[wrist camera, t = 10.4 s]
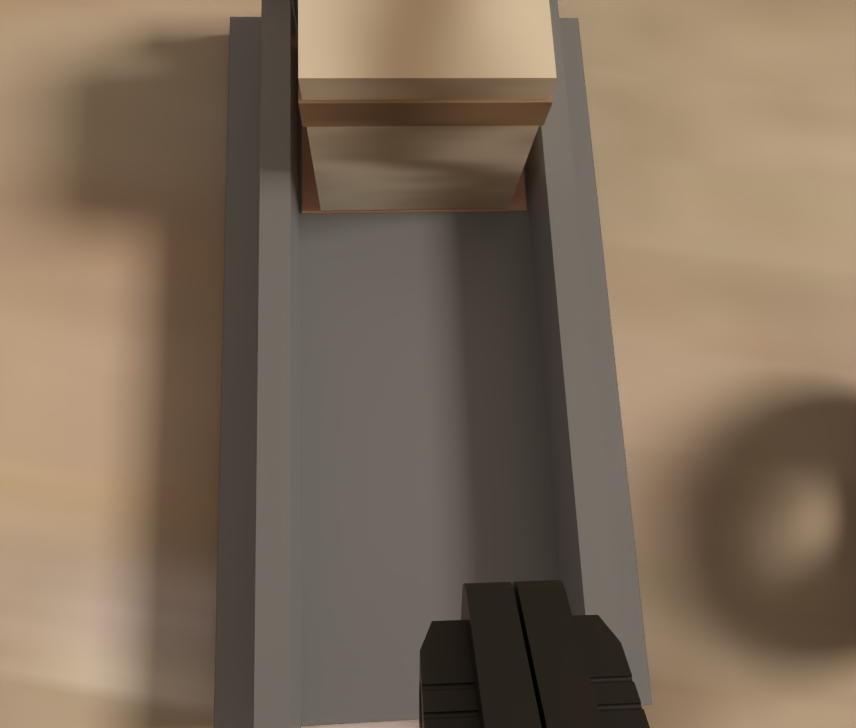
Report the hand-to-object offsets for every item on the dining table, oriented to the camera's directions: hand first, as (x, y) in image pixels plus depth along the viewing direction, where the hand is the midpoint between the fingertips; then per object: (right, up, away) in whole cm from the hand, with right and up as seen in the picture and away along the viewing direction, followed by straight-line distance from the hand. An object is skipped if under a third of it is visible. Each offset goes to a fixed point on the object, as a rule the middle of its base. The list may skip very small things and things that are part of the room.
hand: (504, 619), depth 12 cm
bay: (-2, +5, +17) cm, 17 cm away
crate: (-2, +13, +17) cm, 22 cm away
